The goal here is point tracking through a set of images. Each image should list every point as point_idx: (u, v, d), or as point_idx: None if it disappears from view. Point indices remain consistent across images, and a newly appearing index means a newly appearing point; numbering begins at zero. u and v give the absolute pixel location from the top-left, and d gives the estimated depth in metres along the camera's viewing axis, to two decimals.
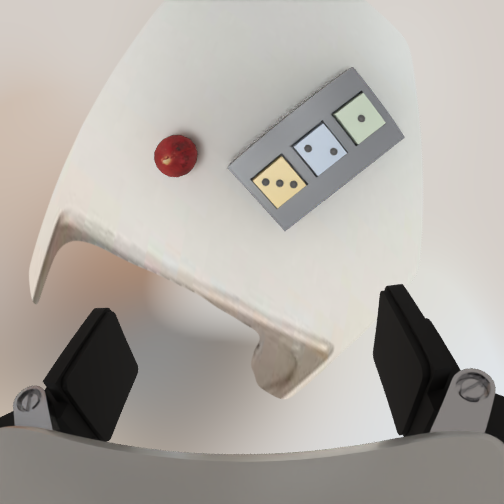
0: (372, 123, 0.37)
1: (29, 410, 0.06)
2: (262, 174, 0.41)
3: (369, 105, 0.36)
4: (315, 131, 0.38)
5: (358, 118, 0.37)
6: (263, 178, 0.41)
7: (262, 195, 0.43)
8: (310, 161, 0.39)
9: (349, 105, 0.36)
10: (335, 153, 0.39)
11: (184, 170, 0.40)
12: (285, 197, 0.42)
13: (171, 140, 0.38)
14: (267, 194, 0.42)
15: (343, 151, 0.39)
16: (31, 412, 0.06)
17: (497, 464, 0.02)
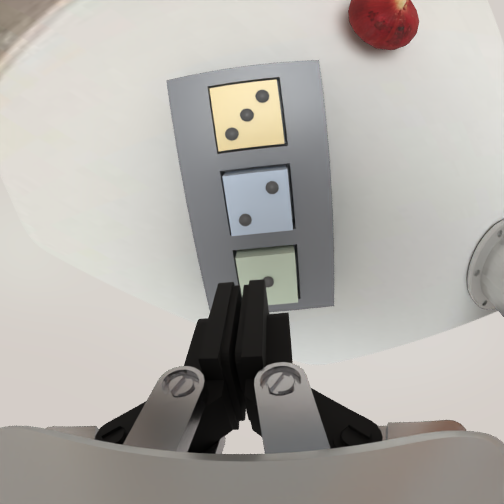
0: None
1: (173, 395, 0.07)
2: (276, 99, 0.21)
3: (278, 300, 0.28)
4: (289, 212, 0.25)
5: (269, 277, 0.27)
6: (269, 97, 0.21)
7: (242, 78, 0.22)
8: (250, 178, 0.24)
9: (293, 277, 0.27)
10: (240, 220, 0.25)
11: (361, 9, 0.17)
12: (219, 110, 0.22)
13: (413, 30, 0.17)
14: (241, 86, 0.21)
15: (237, 233, 0.26)
16: (173, 400, 0.06)
17: (497, 464, 0.02)
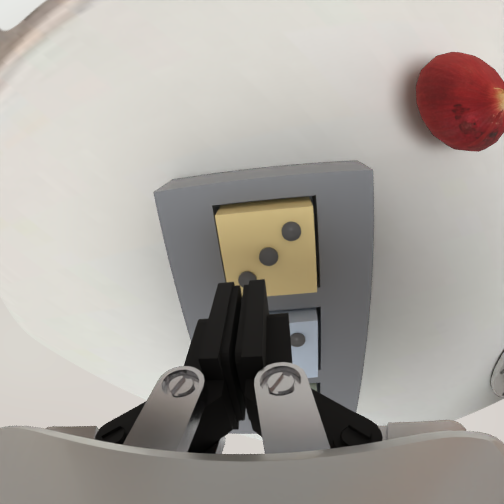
0: None
1: (173, 395, 0.07)
2: (311, 235, 0.16)
3: None
4: (315, 362, 0.20)
5: None
6: (301, 232, 0.16)
7: (262, 196, 0.17)
8: None
9: None
10: None
11: (442, 96, 0.12)
12: (229, 247, 0.17)
13: None
14: (261, 215, 0.16)
15: None
16: (173, 399, 0.06)
17: (497, 464, 0.02)
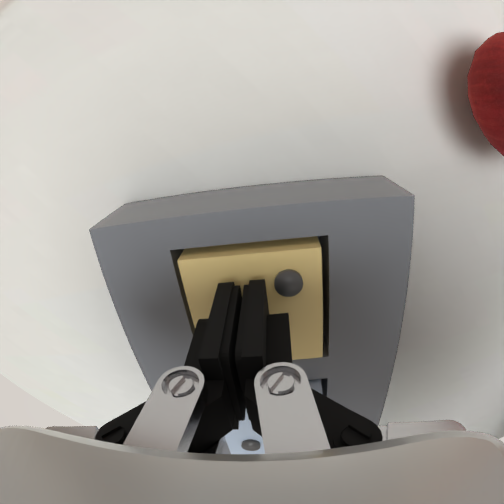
0: None
1: (173, 395, 0.07)
2: (317, 287, 0.11)
3: None
4: None
5: None
6: (302, 283, 0.11)
7: (245, 236, 0.11)
8: None
9: None
10: (243, 446, 0.14)
11: None
12: (200, 302, 0.12)
13: None
14: (244, 261, 0.11)
15: (239, 452, 0.15)
16: (173, 400, 0.06)
17: (497, 464, 0.02)
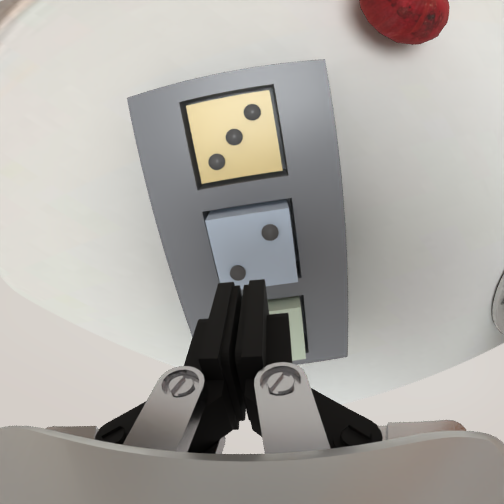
0: None
1: (173, 395, 0.07)
2: (270, 115, 0.17)
3: None
4: (292, 261, 0.20)
5: None
6: (261, 112, 0.17)
7: (224, 88, 0.16)
8: (242, 222, 0.19)
9: (300, 333, 0.22)
10: (231, 274, 0.20)
11: None
12: (199, 132, 0.18)
13: (444, 20, 0.12)
14: (225, 101, 0.17)
15: None
16: (173, 399, 0.06)
17: (497, 464, 0.02)
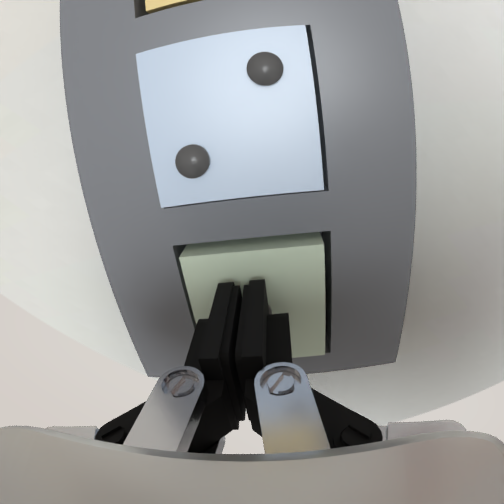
0: None
1: (173, 395, 0.07)
2: None
3: None
4: (313, 140, 0.08)
5: None
6: None
7: None
8: (207, 50, 0.08)
9: (319, 302, 0.11)
10: (179, 163, 0.09)
11: None
12: None
13: None
14: None
15: (173, 198, 0.09)
16: (173, 399, 0.06)
17: (497, 464, 0.02)
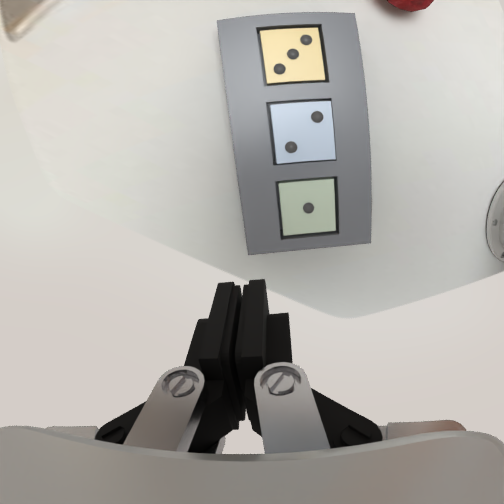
0: (293, 218, 0.29)
1: (173, 395, 0.07)
2: (318, 43, 0.22)
3: (317, 228, 0.29)
4: (332, 141, 0.25)
5: (310, 203, 0.28)
6: (311, 41, 0.22)
7: (288, 22, 0.21)
8: (297, 108, 0.24)
9: (332, 203, 0.28)
10: (286, 147, 0.25)
11: None
12: (268, 48, 0.23)
13: None
14: (287, 31, 0.22)
15: (282, 160, 0.25)
16: (173, 400, 0.06)
17: (497, 464, 0.02)
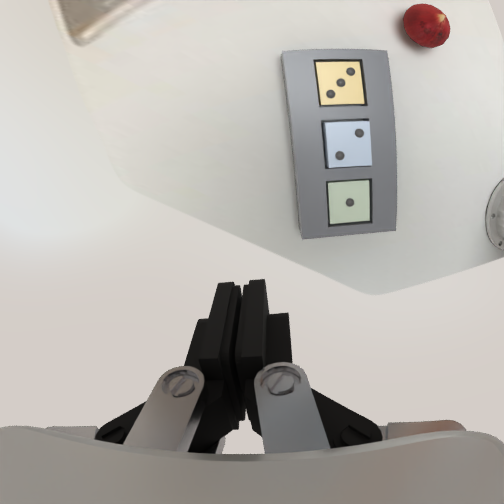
0: (338, 210, 0.36)
1: (173, 395, 0.07)
2: (359, 74, 0.29)
3: (355, 218, 0.36)
4: (369, 152, 0.32)
5: (351, 199, 0.36)
6: (354, 72, 0.29)
7: (337, 57, 0.28)
8: (345, 125, 0.31)
9: (367, 199, 0.35)
10: (336, 155, 0.32)
11: (415, 19, 0.24)
12: (322, 77, 0.30)
13: (447, 36, 0.24)
14: (336, 63, 0.29)
15: (333, 165, 0.33)
16: (173, 400, 0.06)
17: (497, 464, 0.02)
